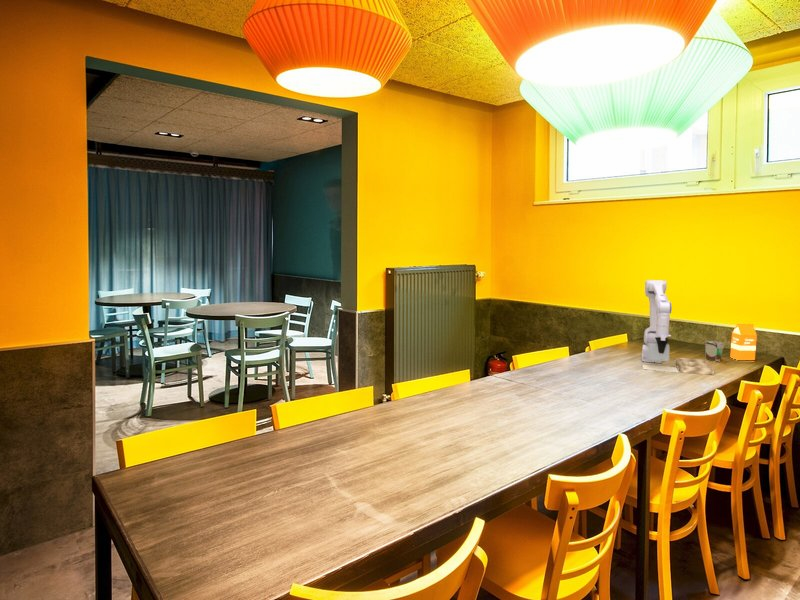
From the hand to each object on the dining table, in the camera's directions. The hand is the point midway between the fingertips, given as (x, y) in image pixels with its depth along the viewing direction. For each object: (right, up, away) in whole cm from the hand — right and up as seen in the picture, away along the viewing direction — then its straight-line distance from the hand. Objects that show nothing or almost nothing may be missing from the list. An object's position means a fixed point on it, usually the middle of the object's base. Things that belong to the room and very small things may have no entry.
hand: (660, 352), depth 264 cm
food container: (+41, -7, +21) cm, 46 cm away
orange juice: (+57, -7, +24) cm, 62 cm away
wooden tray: (+18, -9, +2) cm, 20 cm away
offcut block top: (+14, -7, -5) cm, 17 cm away
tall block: (-1, -4, +1) cm, 4 cm away
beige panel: (0, -9, +1) cm, 9 cm away
